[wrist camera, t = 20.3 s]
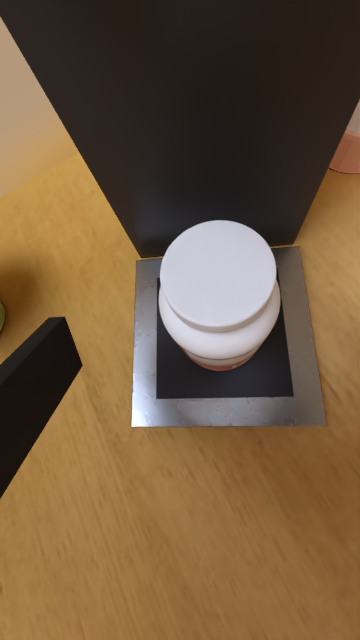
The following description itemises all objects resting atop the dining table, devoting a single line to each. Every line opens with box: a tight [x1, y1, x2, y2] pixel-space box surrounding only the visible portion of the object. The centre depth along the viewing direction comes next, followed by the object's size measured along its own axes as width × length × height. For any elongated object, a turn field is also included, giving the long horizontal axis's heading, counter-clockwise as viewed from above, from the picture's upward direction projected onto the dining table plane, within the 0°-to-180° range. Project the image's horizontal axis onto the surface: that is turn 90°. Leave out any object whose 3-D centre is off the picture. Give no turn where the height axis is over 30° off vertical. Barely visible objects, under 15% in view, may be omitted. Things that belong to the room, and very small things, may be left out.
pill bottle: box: [159, 220, 280, 371], centre depth 16 cm, size 6×6×11 cm
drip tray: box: [131, 246, 327, 427], centre depth 22 cm, size 14×14×2 cm
